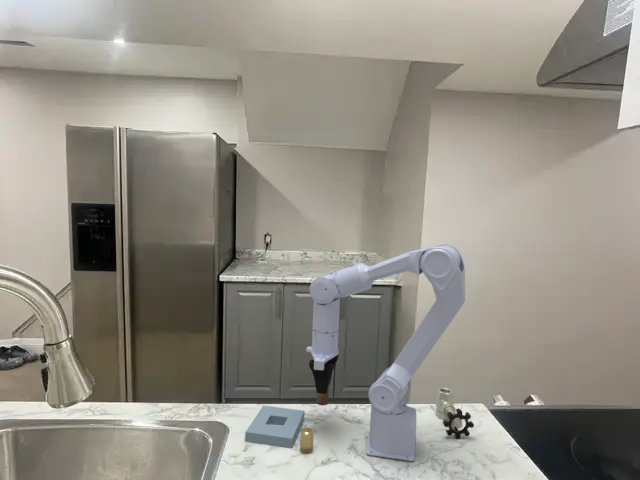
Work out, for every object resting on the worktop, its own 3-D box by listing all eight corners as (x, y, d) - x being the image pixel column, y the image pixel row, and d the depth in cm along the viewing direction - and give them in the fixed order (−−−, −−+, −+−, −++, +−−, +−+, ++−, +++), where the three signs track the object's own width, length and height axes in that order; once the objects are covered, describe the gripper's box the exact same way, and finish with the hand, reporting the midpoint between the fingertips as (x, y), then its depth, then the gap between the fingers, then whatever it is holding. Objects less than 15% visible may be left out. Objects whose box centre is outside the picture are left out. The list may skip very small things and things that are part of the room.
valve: (427, 412, 102) (443, 439, 90) (429, 386, 102) (445, 410, 90) (453, 413, 102) (473, 440, 90) (455, 387, 102) (475, 411, 90)
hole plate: (304, 419, 96) (304, 410, 96) (291, 447, 84) (292, 438, 84) (263, 413, 98) (263, 405, 97) (245, 441, 86) (245, 431, 86)
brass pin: (313, 447, 85) (314, 428, 84) (311, 454, 82) (312, 435, 82) (301, 445, 85) (302, 427, 85) (298, 453, 83) (299, 433, 82)
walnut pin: (329, 400, 93) (330, 366, 92) (327, 406, 90) (328, 370, 90) (317, 399, 93) (319, 364, 93) (315, 404, 91) (317, 369, 90)
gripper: (313, 319, 98) (311, 375, 99) (300, 337, 84) (298, 402, 85) (343, 322, 97) (340, 378, 98) (334, 341, 83) (331, 406, 84)
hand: (323, 389), depth 91 cm, fingers closed on walnut pin, 3 cm apart
